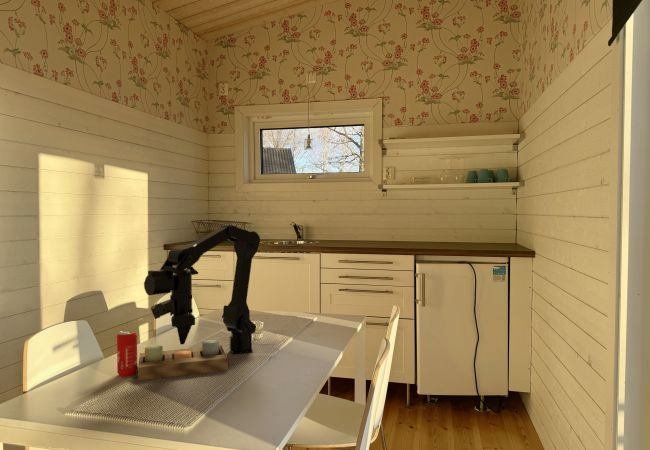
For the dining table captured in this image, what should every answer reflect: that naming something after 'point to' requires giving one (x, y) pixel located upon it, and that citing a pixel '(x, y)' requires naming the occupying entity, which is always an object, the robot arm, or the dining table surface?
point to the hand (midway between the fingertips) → (182, 344)
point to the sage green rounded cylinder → (210, 348)
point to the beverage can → (127, 353)
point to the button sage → (154, 353)
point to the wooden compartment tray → (181, 364)
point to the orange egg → (182, 354)
